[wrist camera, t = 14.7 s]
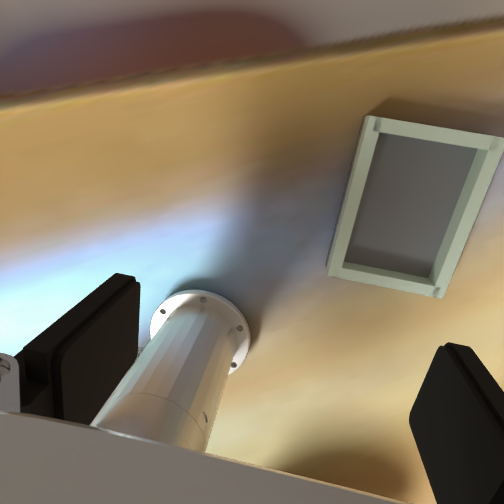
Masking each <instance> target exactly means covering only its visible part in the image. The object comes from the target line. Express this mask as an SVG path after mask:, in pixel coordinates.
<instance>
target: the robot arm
mask: <svg viewBox="0 0 504 504" xmlns="http://www.w3.org/2000/svg"><path fill="white" fill-rule="evenodd" d="M204 297H205V298H204ZM139 310H140V283H139V282H136V279H135V277H134V276H129V275H124V274H120V273H115V274H114V275H113V276H111V277H110V278H109V279H108V280H106V281H105V282H104V283H103V284H101V285H100V286H99V287H98V288H96V289H95V290H94V291H93V292H91V293H90V294H89V295H88V296H87V297H85V298H84V299H83V300H82V301H80V302H79V303H78V304H77V305H75V306H74V307H73V308H72V309H70V310H69V311H68V312H67V313H65V314H64V315H63V316H62V317H61V318H59V319H58V320H57V321H56V322H54V323H53V324H52V325H51V326H49V327H48V328H47V329H46V330H44V331H43V332H42V333H41V334H39V335H38V336H37V337H36V338H35V339H33V340H32V341H31V342H30V343H28V344H27V345H26V346H25V347H23V350H21V351H20V352H19V353H18V354H17V355H15V356H14V357H12V356H11V355H7V354H4V353H0V504H412V503H408V502H404V501H400V500H396V499H392V498H388V497H384V496H380V495H376V494H372V493H368V492H364V491H360V490H356V489H352V488H348V487H344V486H340V485H336V484H332V483H328V482H324V481H320V480H315V479H311V478H307V477H303V476H299V475H295V474H291V473H287V472H283V471H279V470H275V469H270V468H266V467H262V466H258V465H254V464H250V463H246V462H242V461H237V460H233V459H229V458H225V457H221V456H217V455H213V454H208V453H205V450H206V447H207V444H208V440H209V437H210V434H211V430H212V427H213V424H214V420H215V417H216V414H217V410H218V407H219V404H220V400H221V397H222V394H223V390H224V387H225V383H226V380H227V377H228V375H229V374H231V373H233V372H234V371H236V370H237V369H238V368H239V367H240V366H241V365H242V364H243V362H244V360H245V359H246V357H247V354H248V351H249V346H250V331H249V327H248V324H247V322H246V320H245V318H244V316H243V315H242V313H241V312H240V311H239V309H238V308H237V307H236V306H235V305H233V304H232V303H231V302H230V301H228V300H227V299H225V298H224V297H222V296H220V295H218V294H215V293H213V292H209V291H205V290H195V289H193V290H184V291H181V292H177V293H175V294H173V295H171V296H169V297H168V298H167V299H165V300H164V301H163V302H162V303H161V304H160V306H159V307H158V308H157V309H156V311H155V313H154V315H153V317H152V321H151V326H150V334H151V340H150V342H149V343H148V345H147V346H146V347H145V349H144V350H143V352H142V353H141V355H140V356H139V357H138V359H137V360H136V362H135V363H134V361H135V359H136V357H137V353H138V334H139ZM133 363H134V365H133ZM132 365H133V366H132ZM131 366H132V367H131ZM130 367H131V369H130ZM129 369H130V370H129ZM128 370H129V372H128ZM127 372H128V373H127ZM126 373H127V375H126ZM125 375H126V376H125ZM124 376H125V377H124ZM123 377H124V379H123ZM122 379H123V380H122ZM121 380H122V382H121ZM120 382H121V383H120ZM119 383H120V385H119ZM118 385H119V386H118ZM117 386H118V387H117ZM116 387H117V389H116ZM115 389H116V390H115ZM114 390H115V392H114ZM113 392H114V393H113ZM112 393H113V395H112V396H111V394H112ZM110 396H111V398H110V399H109V397H110ZM108 399H109V400H108ZM107 400H108V402H107ZM106 402H107V403H106ZM105 403H106V405H105V406H104V404H105ZM103 406H104V407H103ZM102 407H103V409H102ZM101 409H102V410H101ZM100 410H101V412H100ZM99 412H100V413H99ZM98 413H99V415H98V416H97V414H98ZM96 416H97V418H96V419H95V417H96ZM94 419H95V421H94V422H93V424H92V426H90V424H91V423H92V421H93V420H94ZM409 424H410V427H411V430H412V433H413V436H414V439H415V442H416V445H417V447H418V450H419V453H420V456H421V459H422V462H423V465H424V468H425V470H426V473H427V476H428V479H429V482H430V485H431V488H432V491H433V493H434V496H435V499H436V502H437V504H504V392H503V390H502V389H501V388H500V386H499V385H498V384H497V382H496V381H495V380H494V378H493V377H492V375H491V374H490V373H489V371H488V370H487V369H486V367H485V366H484V365H483V363H482V362H481V361H480V359H479V358H478V356H477V355H476V354H475V352H474V351H473V350H472V349H471V348H470V347H468V346H464V345H459V344H454V343H450V342H449V343H446V344H445V345H444V346H440V347H439V348H438V349H437V351H436V353H435V356H434V358H433V360H432V363H431V365H430V367H429V370H428V372H427V374H426V377H425V379H424V381H423V384H422V386H421V388H420V391H419V393H418V395H417V398H416V400H415V402H414V405H413V407H412V409H411V412H410V416H409Z"/></svg>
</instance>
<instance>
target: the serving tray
mask: <svg viewBox="0 0 504 504" xmlns="http://www.w3.org/2000/svg"><path fill="white" fill-rule="evenodd" d="M503 151H504V138H503V137H496V136H490V135H484V134H478V133H472V132H466V131H460V130H454V129H448V128H442V127H436V126H430V125H424V124H418V123H412V122H406V121H400V120H394V119H388V118H382V117H376V116H364V118H363V121H362V125H361V129H360V133H359V137H358V141H357V145H356V149H355V153H354V156H353V160H352V164H351V168H350V172H349V176H348V180H347V184H346V188H345V191H344V195H343V199H342V203H341V207H340V211H339V215H338V219H337V223H336V226H335V230H334V234H333V238H332V242H331V246H330V250H329V254H328V257H327V261H326V269H327V276H331V277H336V278H341V279H346V280H351V281H356V282H361V283H366V284H371V285H376V286H381V287H386V288H391V289H396V290H400V291H405V292H410V293H415V294H420V295H425V296H430V297H435V298H440V299H443V297H444V294H445V292H446V290H447V287H448V285H449V282H450V280H451V277H452V275H453V273H454V270H455V268H456V265H457V263H458V260H459V258H460V255H461V253H462V251H463V248H464V246H465V243H466V241H467V238H468V236H469V234H470V231H471V229H472V226H473V224H474V221H475V219H476V216H477V214H478V212H479V209H480V207H481V204H482V202H483V199H484V197H485V195H486V192H487V190H488V187H489V185H490V182H491V180H492V178H493V175H494V173H495V170H496V168H497V165H498V163H499V160H500V158H501V156H502V153H503Z"/></svg>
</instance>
